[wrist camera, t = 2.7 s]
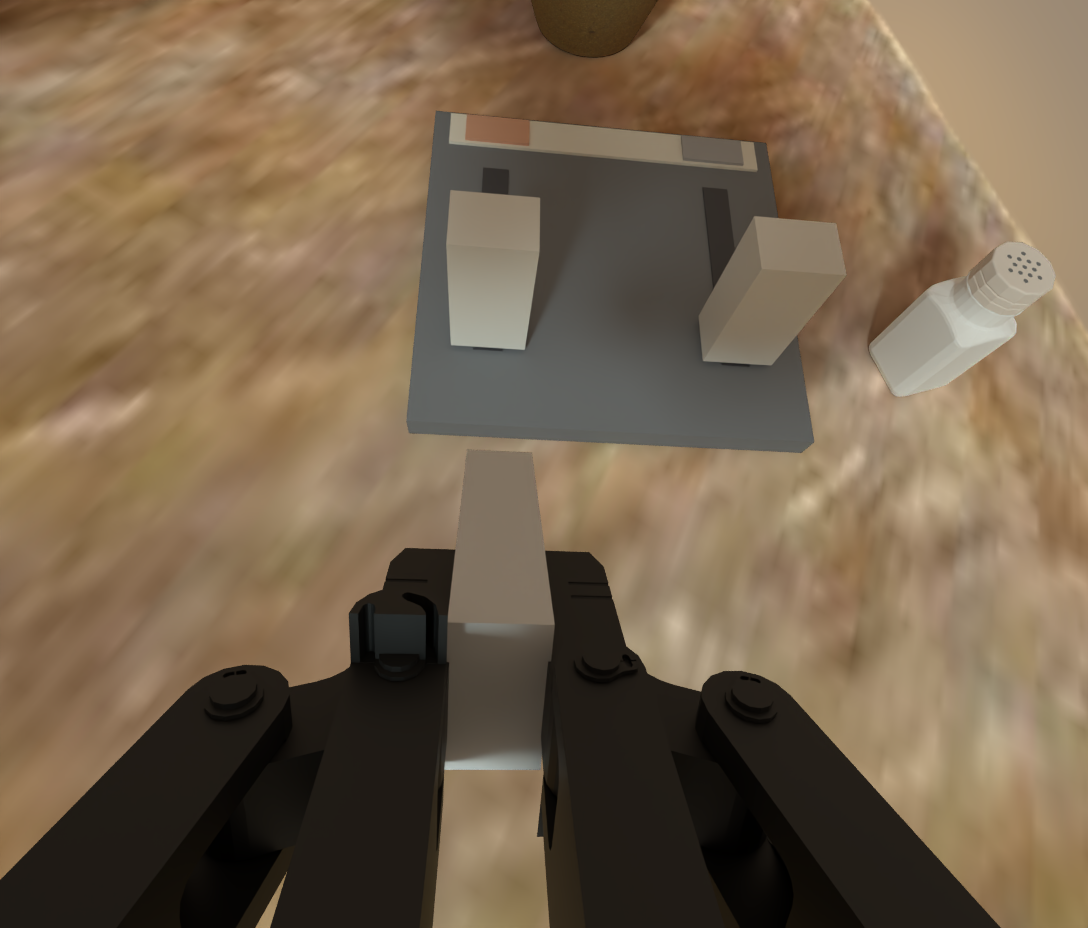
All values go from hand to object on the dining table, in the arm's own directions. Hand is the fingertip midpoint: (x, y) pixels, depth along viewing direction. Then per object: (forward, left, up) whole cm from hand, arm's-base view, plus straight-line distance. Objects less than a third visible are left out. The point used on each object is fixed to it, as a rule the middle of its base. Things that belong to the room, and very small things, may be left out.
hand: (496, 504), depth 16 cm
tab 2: (-7, +19, -16) cm, 26 cm away
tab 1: (-14, +7, -16) cm, 22 cm away
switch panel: (-15, +16, -18) cm, 28 cm away
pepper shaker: (-2, +30, -18) cm, 35 cm away
